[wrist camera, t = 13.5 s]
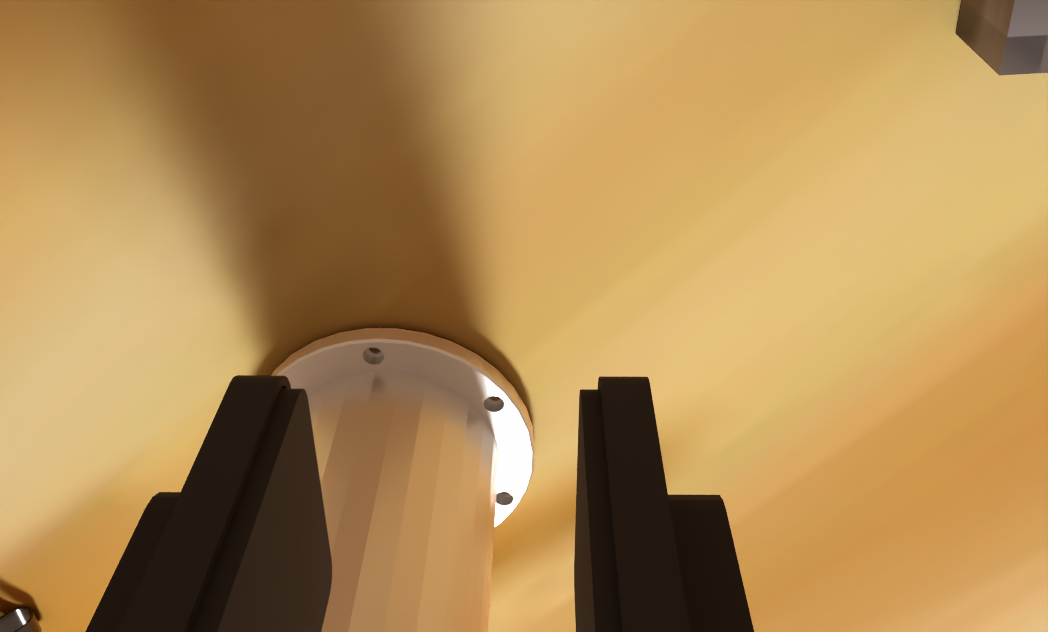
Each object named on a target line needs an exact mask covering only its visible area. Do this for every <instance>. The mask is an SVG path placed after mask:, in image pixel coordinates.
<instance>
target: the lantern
mask: <svg viewBox="0 0 1048 632" xmlns="http://www.w3.org/2000/svg"><path fill="white" fill-rule="evenodd" d="M0 632H41V627H40V625H39V622H38V620H37V618H36V616H35V614H34V612H33V610H32V609H31V608H29V607H19V608H16V609H13V610H11V611H10V612H8V613H6V614H4V615H3V616H1V617H0Z"/></svg>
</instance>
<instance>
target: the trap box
mask: <svg viewBox="0 0 1048 632" xmlns="http://www.w3.org/2000/svg"><path fill="white" fill-rule="evenodd" d="M956 34H957V35H958V36H959V37H960V38H961V39H962V40H963V41H964V42H965V43H966V44H967V45H968V46H969V47H970V48H971V49H972V50H973V51H974V52H975V53H977V54H978V55H979V56H980V57H981V58H982V59H983V60H984V61H985V62H986V63H987V64H988V65H989V66H990V67H991V68H992V69H993V70H994V71H995V72H996V73H997V74H999V75H1012V74H1031V73H1048V0H962V1H961V7H960V13H959V18H958V24H957V29H956Z"/></svg>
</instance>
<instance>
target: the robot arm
mask: <svg viewBox="0 0 1048 632" xmlns="http://www.w3.org/2000/svg"><path fill="white" fill-rule="evenodd" d="M534 450H535V447H534V434H533V426H532V423H531V420H530V417H529V414H528V411H527V408H526V406H525V405H524V403H523V401H522V400H521V398H520V396H519V395H518V393H517V391H516V390H515V388H514V387H513V386H512V385H511V384H510V383H509V382H508V380H507V379H506V378H505V377H504V376H503V375H502V374H501V373H500V372H499V371H498V370H497V369H496V368H495V367H493V366H492V365H491V364H489V363H488V362H487V361H485V360H484V359H483V358H481V357H480V356H478V355H477V354H476V353H474V352H472V351H470V350H468V349H466V348H464V347H462V346H460V345H458V344H456V343H454V342H452V341H449V340H446V339H443V338H440V337H436V336H433V335H430V334H427V333H424V332H417V331H411V330H405V329H398V328H364V329H358V330H352V331H346V332H340V333H336V334H334V335H331V336H328V337H325V338H322V339H319V340H316V341H314V342H312V343H310V344H308V345H307V346H305V347H303V348H302V349H300V350H298V351H296V352H295V353H293V354H292V355H290V356H289V357H288V358H287V359H286V360H285V361H284V362H283V363H282V364H280V365H279V366H278V367H277V368H276V369H275V370H274V371H273V373H272V374H271V376H239V375H237V376H235V377H233V379H232V381H231V382H230V384H229V386H228V389H227V391H226V393H225V395H224V397H223V400H222V402H221V404H220V406H219V409H218V411H217V413H216V415H215V417H214V420H213V422H212V424H211V426H210V429H209V431H208V433H207V435H206V437H205V440H204V442H203V444H202V446H201V449H200V451H199V453H198V455H197V457H196V460H195V462H194V464H193V466H192V468H191V471H190V473H189V475H188V477H187V480H186V482H185V484H184V486H183V488H182V491H181V492H159V493H158V494H156V495H155V496H153V497H152V499H151V500H150V502H149V503H148V505H147V507H146V508H145V510H144V512H143V514H142V516H141V519H140V521H139V523H138V525H137V527H136V529H135V531H134V533H133V535H132V537H131V539H130V541H129V543H128V545H127V547H126V549H125V552H124V554H123V556H122V558H121V560H120V562H119V564H118V566H117V568H116V570H115V572H114V574H113V576H112V578H111V580H110V582H109V584H108V587H107V589H106V591H105V593H104V595H103V597H102V599H101V601H100V603H99V605H98V607H97V609H96V611H95V613H94V615H93V617H92V620H91V622H90V624H89V626H88V628H87V630H86V632H488V624H489V608H490V592H491V576H492V560H493V545H494V529H495V527H496V526H498V525H499V524H501V523H502V522H503V521H504V520H505V519H506V518H507V517H508V516H509V515H510V514H511V513H512V512H513V511H514V510H515V509H516V507H517V506H518V504H519V503H520V501H521V499H522V498H523V496H524V494H525V493H526V491H527V489H528V486H529V483H530V479H531V476H532V473H533V466H534ZM574 587H575V615H576V632H754V629H753V625H752V621H751V616H750V612H749V608H748V603H747V599H746V595H745V590H744V586H743V582H742V577H741V573H740V569H739V564H738V560H737V556H736V551H735V547H734V543H733V538H732V534H731V530H730V525H729V521H728V517H727V512H726V509H725V505H724V502H723V499H722V498H721V497H720V495H668V493H667V487H666V481H665V475H664V469H663V462H662V456H661V450H660V444H659V438H658V431H657V425H656V419H655V413H654V407H653V401H652V394H651V388H650V383H649V379H648V377H599V380H598V390H580V398H579V429H578V462H577V495H576V528H575V562H574Z"/></svg>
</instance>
